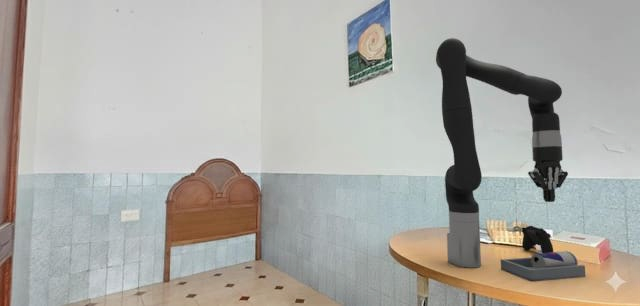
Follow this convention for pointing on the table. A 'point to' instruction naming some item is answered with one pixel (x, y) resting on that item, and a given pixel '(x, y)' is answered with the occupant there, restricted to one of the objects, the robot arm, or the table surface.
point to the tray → (540, 270)
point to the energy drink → (553, 259)
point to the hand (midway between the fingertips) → (549, 201)
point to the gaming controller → (536, 239)
